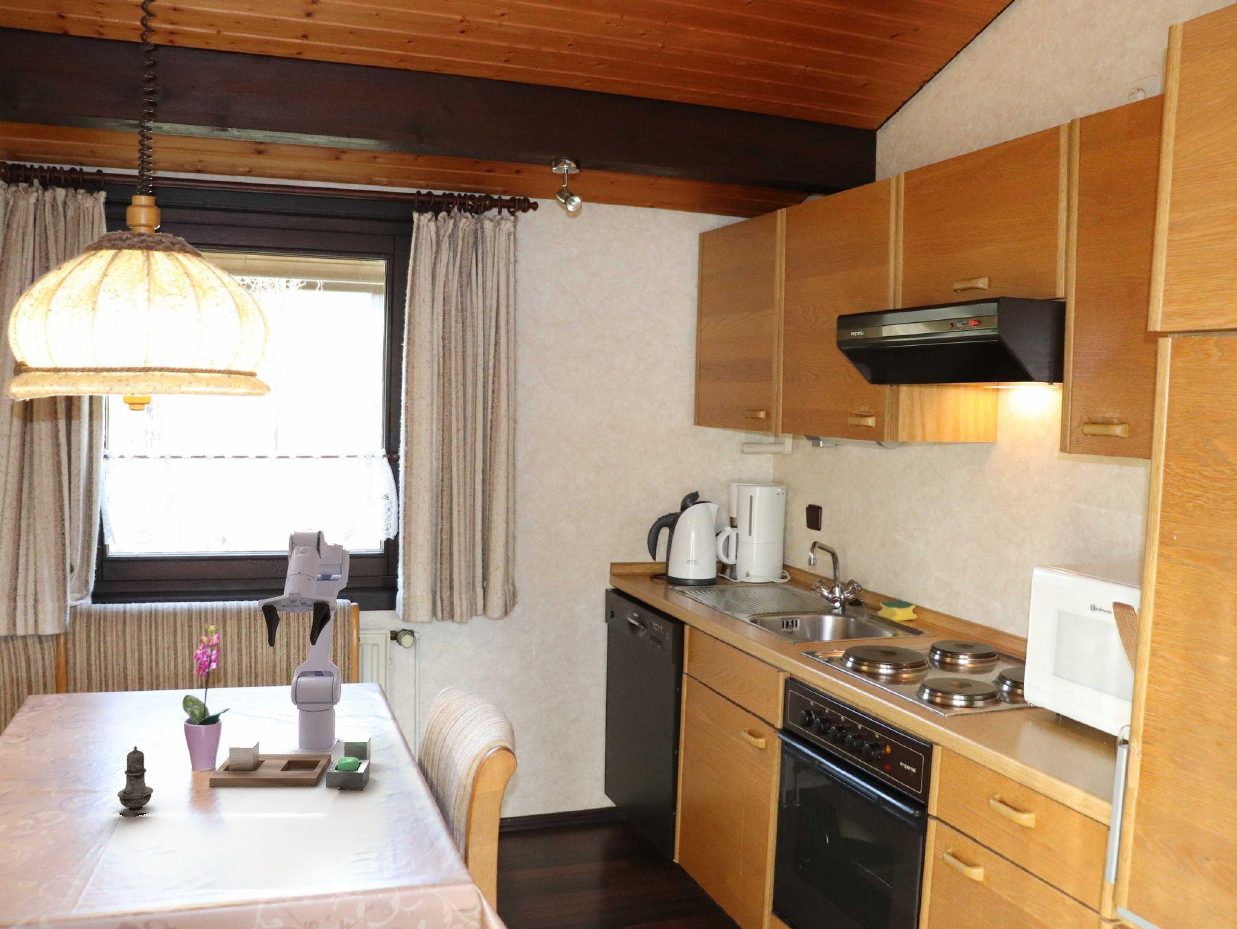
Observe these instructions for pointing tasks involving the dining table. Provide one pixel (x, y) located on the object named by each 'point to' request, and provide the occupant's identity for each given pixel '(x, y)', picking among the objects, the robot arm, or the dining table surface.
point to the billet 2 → (358, 747)
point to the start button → (348, 763)
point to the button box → (348, 776)
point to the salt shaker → (135, 784)
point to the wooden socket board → (275, 772)
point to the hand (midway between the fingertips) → (291, 643)
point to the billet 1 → (244, 755)
